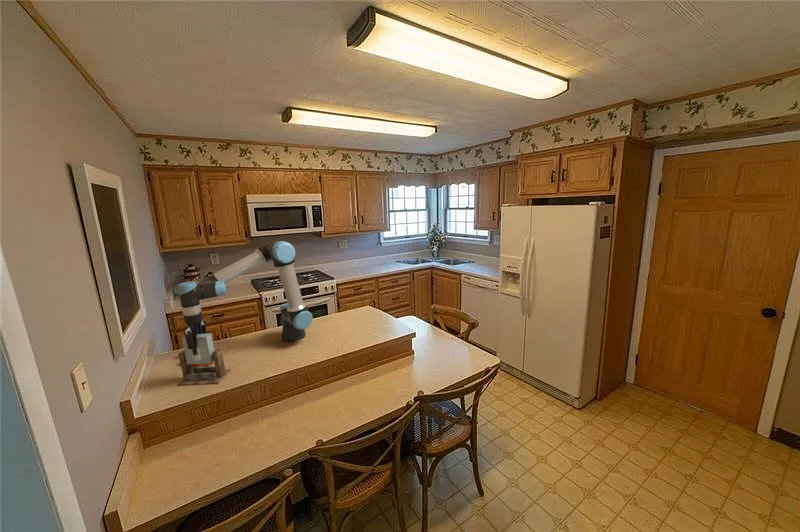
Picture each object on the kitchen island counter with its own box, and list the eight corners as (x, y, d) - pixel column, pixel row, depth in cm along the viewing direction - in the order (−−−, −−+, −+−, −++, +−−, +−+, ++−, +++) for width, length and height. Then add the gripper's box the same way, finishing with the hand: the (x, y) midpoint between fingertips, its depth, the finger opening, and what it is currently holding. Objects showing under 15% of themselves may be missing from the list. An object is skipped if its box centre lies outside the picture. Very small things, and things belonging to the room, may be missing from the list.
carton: (198, 371, 164) (196, 363, 163) (181, 365, 172) (180, 358, 171) (213, 363, 171) (212, 356, 170) (197, 358, 179) (195, 351, 178)
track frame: (231, 370, 162) (226, 344, 159) (218, 383, 150) (212, 356, 147) (193, 372, 162) (188, 346, 159) (177, 385, 150) (171, 358, 147)
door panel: (216, 358, 156) (211, 333, 153) (211, 363, 152) (206, 336, 149) (192, 359, 156) (187, 334, 153) (187, 364, 152) (181, 338, 149)
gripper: (196, 307, 158) (204, 349, 162) (171, 320, 141) (181, 367, 145) (210, 307, 157) (218, 349, 162) (188, 319, 141) (197, 366, 145)
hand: (201, 357), depth 154 cm, fingers closed on door panel, 4 cm apart
